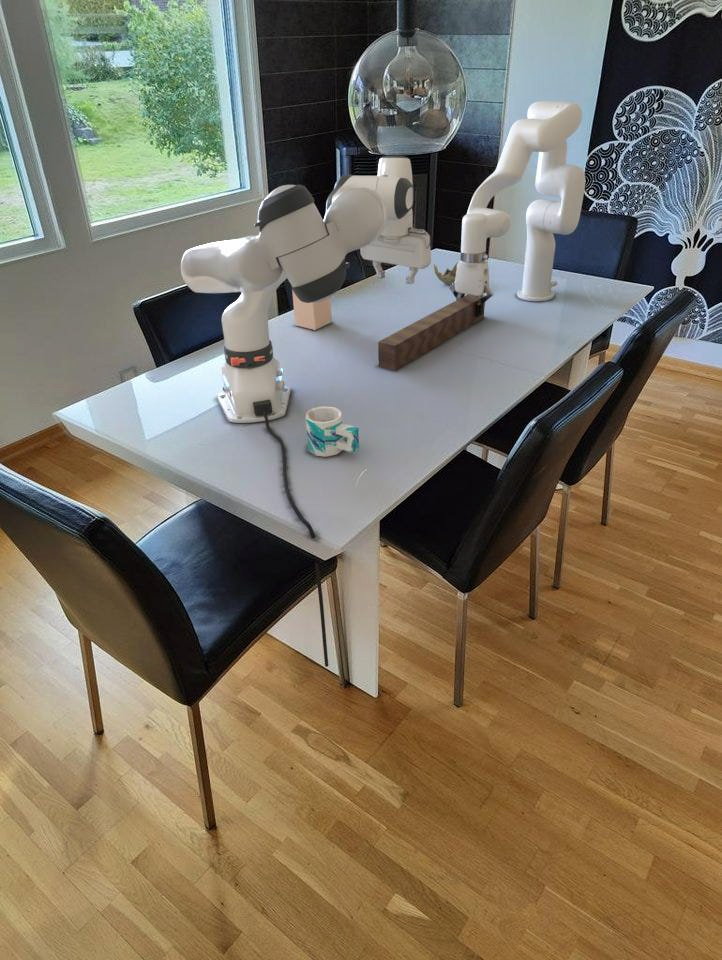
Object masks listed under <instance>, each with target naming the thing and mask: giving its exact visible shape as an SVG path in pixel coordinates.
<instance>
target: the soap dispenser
mask: <svg viewBox="0 0 722 960" xmlns="http://www.w3.org/2000/svg"><path fill="white" fill-rule="evenodd" d="M291 292H292V304H293V311H294V312H293V315H294V325H295V326H297V327H301V328H304V329H310V330H313V331H316V330H318V329H320V328H322V327H324V326H326V325H329V324H331V323H333V322H332V306H331V297H330V298H329V299H327V300H325V301H322V302H315V303H312V302H311V303H305V302H302V301H300V300H299V298H298V297H297V296H296V295H295V293H294V292H293V290H292V289H291Z"/></svg>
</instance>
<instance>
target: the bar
mask: <svg viewBox="0 0 722 960" xmlns="http://www.w3.org/2000/svg"><path fill="white" fill-rule="evenodd" d="M485 296H486V295H484V297H485ZM476 305H477V300H476V296H474V295H468V294H465V296H464V297H462V298H460V299H458V300H456V299H455V300H454V301H452V302H450V303H449V304H446V305H445V306H443V307H441V308H439V309H437V310H435V311H434V312H432V313H430V314H428V315H426V316H424V317H422V318H420V319H418V320H416V321H415V322H413V323H411V324H409V325H407V326H405V327H403V328H401V329H400V330H398V331H395V332H394V333H392V334H390V335H388V336H386V337H384V338H383V339H381V340H378V342H377V351H378V352H377V354H378V356H377V357H378V367H379V368H383V369H386V370H391V371H397V370H399V369H400V368H402V367H404V366H406V365H408V364H409V363H410V362H413V361H414V360H415V359H417V358H419V357H421V356H423V355H424V354H426V353H427V352H429V351H431V350H432V349H434V348H436V347H437V346H439V345H441V344H442V343H444V342H446V341H447V340H449V339H451V338H453V337H454V336H456V335H458V334H459V333H461V332H462V331H465V330H466V329H468V328H470V327H471V326H473V325H475V324H476V323H478V322H480V321H481V320H483V319H484V318H485V307H486V302H485V303H483V313H482V315H481V316H479V317H475V311H476Z"/></svg>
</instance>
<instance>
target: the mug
mask: <svg viewBox="0 0 722 960" xmlns="http://www.w3.org/2000/svg"><path fill="white" fill-rule="evenodd" d="M305 427H306V438H307V439H306V440H307V449H308V452H309V453H311V454H312V455H314V456H315V457H325V458H327V457H333V456H336V455H339V454H340V453H341V452H342V451H346V452H349V453H352V454H353V453H354V452H356V451H357V450H359V448H360V438H359V437H360V436H359V427H357V426H354V425H351V424H347V423H344V422H343V411H342V410H340V409H339V408H337V407H335V406H325V405H324V406H323V405H322V406H318V407H313V408H311V409H310V410H308V411H307V412H305Z"/></svg>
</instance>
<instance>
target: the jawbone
mask: <svg viewBox="0 0 722 960" xmlns="http://www.w3.org/2000/svg"><path fill="white" fill-rule="evenodd" d="M458 262H459V260H458V261H457V262H456V264H454V265H453V267H452V269H451V270H450V269H449V268H446V270H445V271H444V273H442V272H440V271H439V269H438V268H437V267H438V266H437V265H436V264H433V270H434V273H435V276H436V277H437V279H438V280H439V281H440V282H442V284H444V285H445V286H451V285H452V284H453V283H454V282H455V277H456V270H457V266H458Z"/></svg>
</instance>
